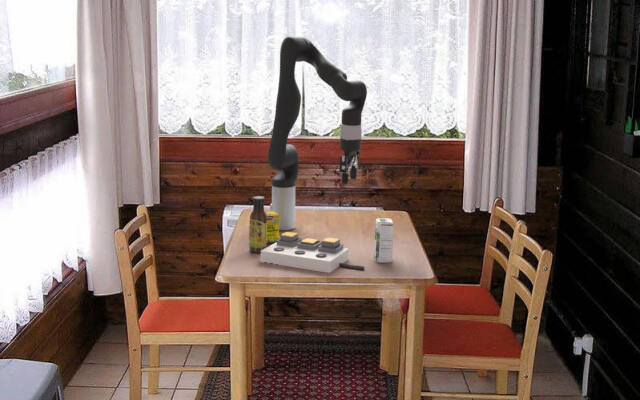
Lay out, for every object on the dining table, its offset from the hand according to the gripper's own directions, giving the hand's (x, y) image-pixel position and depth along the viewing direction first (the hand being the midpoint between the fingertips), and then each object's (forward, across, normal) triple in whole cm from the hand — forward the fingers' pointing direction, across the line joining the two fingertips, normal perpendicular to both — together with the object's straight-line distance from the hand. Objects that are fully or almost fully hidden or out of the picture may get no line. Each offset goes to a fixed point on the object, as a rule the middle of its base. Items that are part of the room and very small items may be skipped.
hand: (349, 181), depth 288 cm
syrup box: (+24, +11, +18) cm, 32 cm away
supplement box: (+25, +8, -28) cm, 39 cm away
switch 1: (+19, +19, -15) cm, 31 cm away
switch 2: (+20, +19, -7) cm, 29 cm away
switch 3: (+19, +19, +1) cm, 27 cm away
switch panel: (+24, +23, -2) cm, 34 cm away
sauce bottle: (+25, +20, -27) cm, 41 cm away
